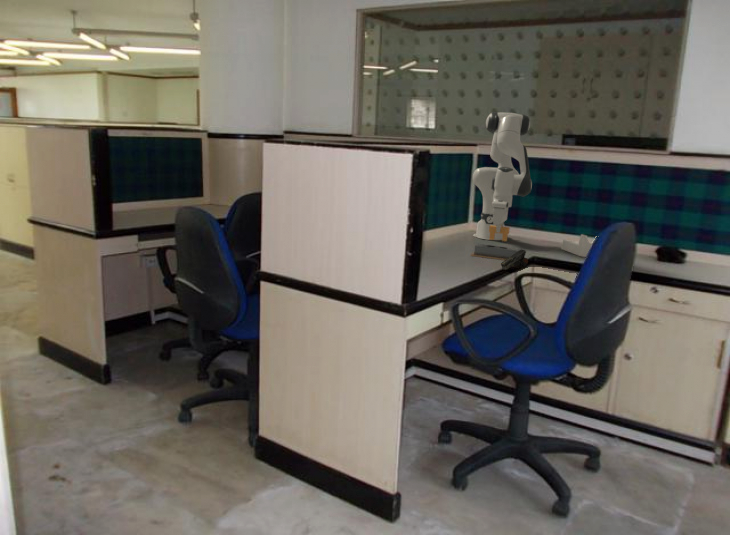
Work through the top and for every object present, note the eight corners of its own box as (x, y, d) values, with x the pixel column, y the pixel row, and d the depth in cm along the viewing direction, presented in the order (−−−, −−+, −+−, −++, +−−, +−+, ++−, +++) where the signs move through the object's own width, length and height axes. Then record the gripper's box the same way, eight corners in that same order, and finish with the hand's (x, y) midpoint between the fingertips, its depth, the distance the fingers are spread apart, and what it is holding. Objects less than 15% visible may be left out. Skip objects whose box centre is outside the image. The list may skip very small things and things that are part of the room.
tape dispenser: (597, 258, 307) (602, 237, 305) (580, 256, 304) (585, 235, 302) (577, 250, 324) (581, 231, 322) (561, 248, 321) (565, 229, 319)
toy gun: (504, 282, 269) (500, 263, 264) (525, 262, 276) (521, 244, 271) (508, 283, 268) (504, 264, 263) (529, 263, 275) (525, 245, 270)
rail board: (475, 251, 302) (476, 242, 301) (521, 257, 295) (522, 247, 294) (470, 255, 291) (471, 246, 290) (517, 261, 284) (518, 252, 283)
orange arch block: (489, 238, 294) (490, 225, 292) (508, 240, 291) (509, 227, 289) (488, 239, 291) (489, 225, 290) (507, 241, 288) (508, 228, 287)
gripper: (498, 200, 298) (496, 228, 301) (491, 203, 279) (488, 233, 282) (512, 201, 295) (509, 229, 298) (505, 205, 277) (502, 235, 280)
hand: (499, 231), depth 290 cm, fingers closed on orange arch block, 3 cm apart
